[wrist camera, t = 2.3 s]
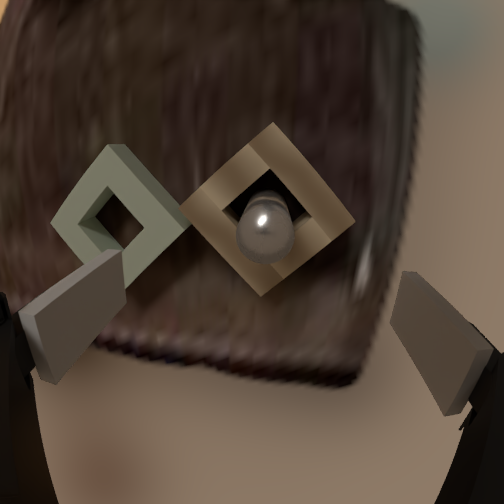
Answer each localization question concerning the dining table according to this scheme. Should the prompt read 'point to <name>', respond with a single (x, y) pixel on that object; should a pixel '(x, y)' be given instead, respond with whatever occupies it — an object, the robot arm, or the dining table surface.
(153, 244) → the socket block
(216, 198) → the block
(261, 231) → the lock pin
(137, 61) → the dining table surface
